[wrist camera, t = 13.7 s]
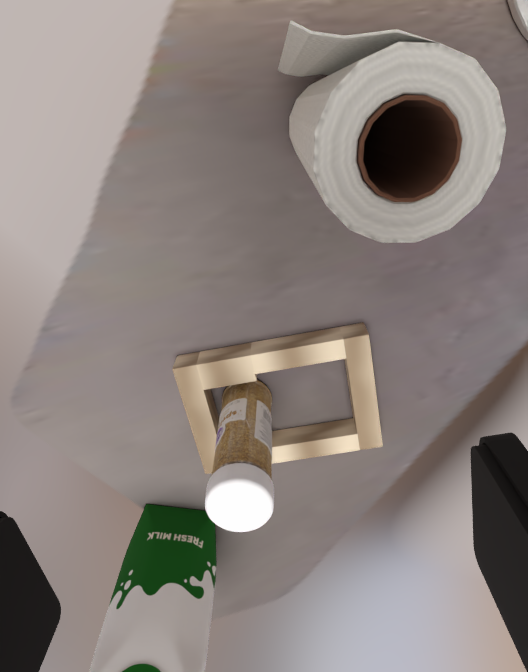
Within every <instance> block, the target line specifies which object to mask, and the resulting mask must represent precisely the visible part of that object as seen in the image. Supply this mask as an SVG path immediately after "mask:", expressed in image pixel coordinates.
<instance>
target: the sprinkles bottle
mask: <svg viewBox="0 0 528 672" xmlns="http://www.w3.org/2000/svg"><path fill="white" fill-rule="evenodd" d="M271 406H272V395H271V392H270V391H269V389H268V388H267V386H266V385H264V384H263V383H262V382H260V381H258V380H257V381H253V382H248V383H242V384H236V385H230V386H227V387H226V389H225V390H224V392H223V395H222V409H221V414H220V418H219V425H218V432H217V438H216V446H215V456H214V462H213V471H212V475H211V477H210V479H209V481H208V485H207V490H206V497H205V509H206V512H207V514H208V516H209V518H210V519H211V520H212V521H213V522H214V523H215V524H216V525H218V526H219V527H221V528H223V529H226V530H229V531H233V532H247V531H251V530H255V529H257V528H259V527H261V526H262V525H264V524H265V523H266V522H267V521H268V520H269V518H270V517H271V515H272V513H273V508H274V485H273V482H272V479H271V464H272V417H271Z"/></svg>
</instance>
